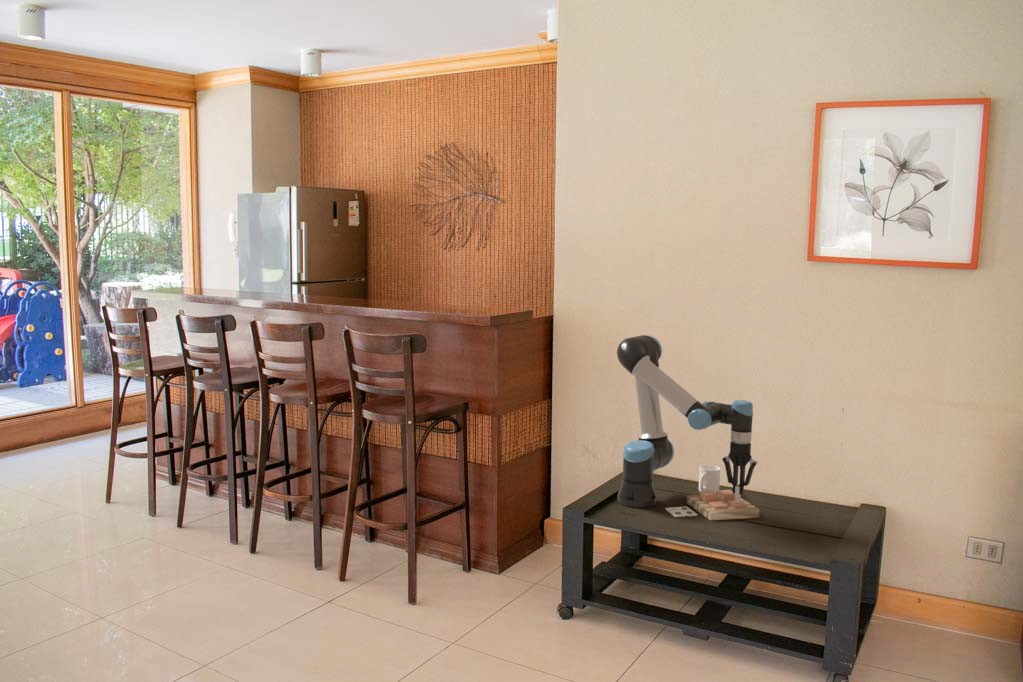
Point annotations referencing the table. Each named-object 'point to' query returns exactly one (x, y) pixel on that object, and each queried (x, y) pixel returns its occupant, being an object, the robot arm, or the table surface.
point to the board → (722, 514)
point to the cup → (709, 478)
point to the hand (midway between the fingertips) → (737, 502)
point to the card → (681, 511)
